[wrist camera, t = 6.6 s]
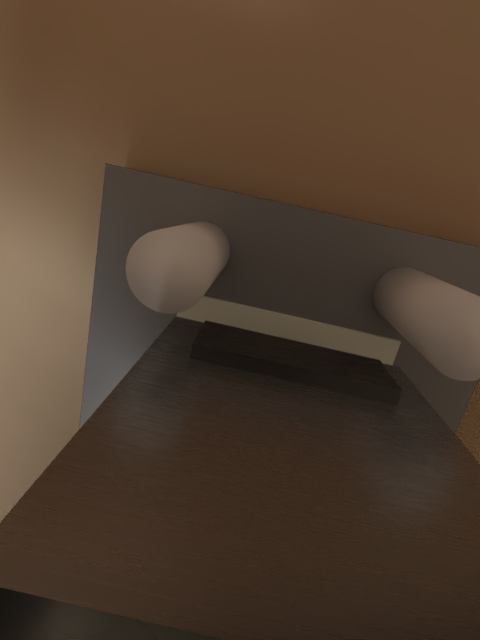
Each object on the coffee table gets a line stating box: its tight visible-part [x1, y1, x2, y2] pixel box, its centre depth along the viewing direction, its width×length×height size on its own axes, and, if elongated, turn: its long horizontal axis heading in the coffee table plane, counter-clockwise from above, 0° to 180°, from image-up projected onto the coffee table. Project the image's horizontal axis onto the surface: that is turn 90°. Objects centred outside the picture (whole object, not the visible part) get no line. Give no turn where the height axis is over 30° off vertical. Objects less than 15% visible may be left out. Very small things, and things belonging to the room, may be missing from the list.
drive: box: [0, 316, 480, 640], centre depth 6 cm, size 8×4×6 cm, turn 168°
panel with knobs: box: [79, 164, 480, 434], centre depth 9 cm, size 13×9×4 cm
